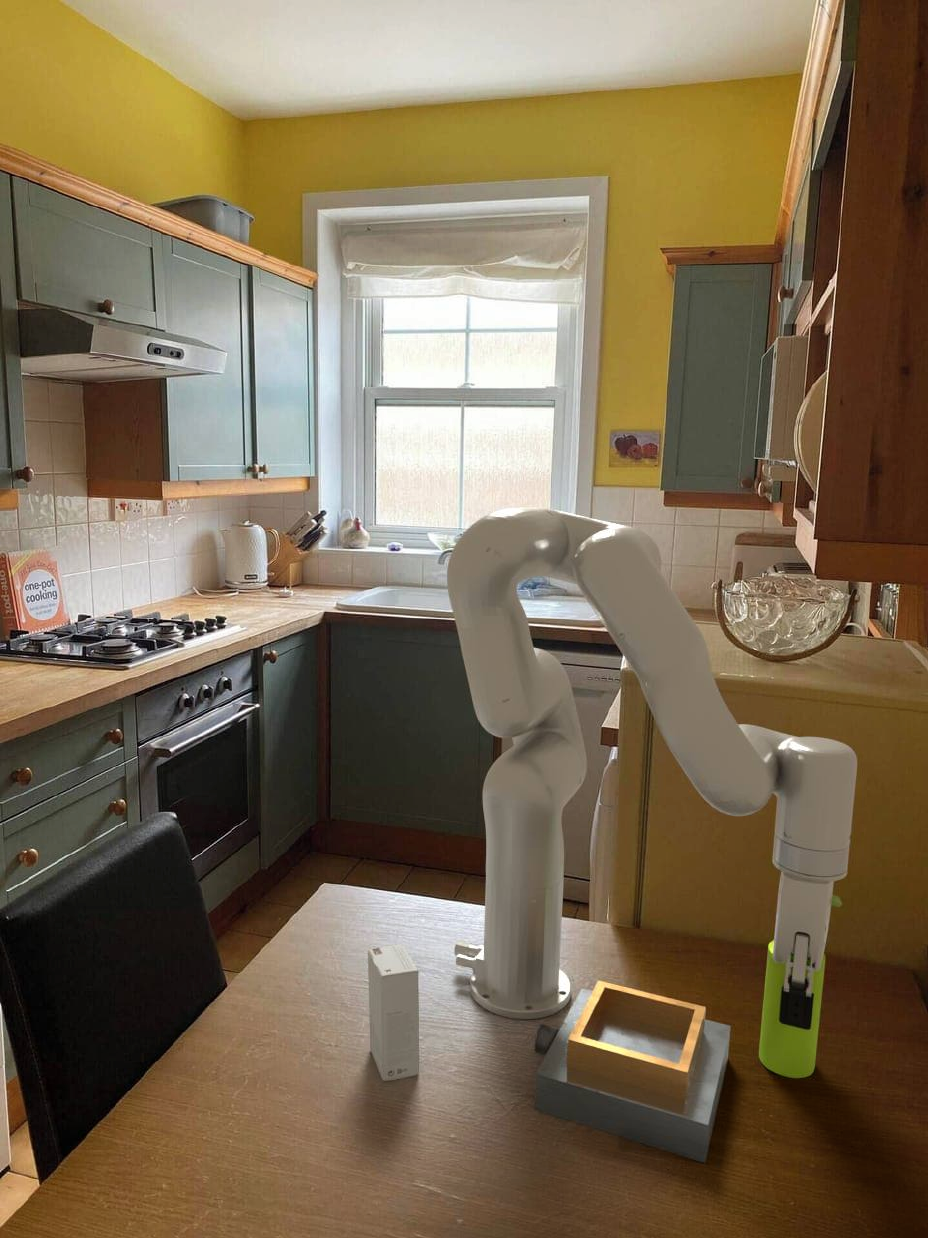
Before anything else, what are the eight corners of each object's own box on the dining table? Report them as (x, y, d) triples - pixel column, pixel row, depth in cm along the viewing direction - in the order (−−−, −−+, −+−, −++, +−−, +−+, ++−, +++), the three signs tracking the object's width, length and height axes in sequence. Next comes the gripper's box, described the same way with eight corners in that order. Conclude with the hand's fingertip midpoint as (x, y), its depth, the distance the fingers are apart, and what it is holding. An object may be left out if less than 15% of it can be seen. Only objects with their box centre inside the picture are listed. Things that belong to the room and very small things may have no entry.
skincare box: (420, 1075, 95) (423, 970, 93) (380, 1084, 94) (381, 977, 92) (404, 1041, 101) (406, 941, 99) (366, 1049, 99) (367, 948, 98)
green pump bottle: (829, 1084, 96) (847, 908, 93) (762, 1073, 97) (777, 900, 94) (819, 1050, 101) (835, 884, 98) (755, 1041, 103) (770, 877, 100)
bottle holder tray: (511, 1102, 91) (514, 1040, 90) (560, 1014, 107) (563, 960, 106) (705, 1163, 84) (710, 1096, 83) (727, 1058, 99) (732, 1001, 98)
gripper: (779, 820, 105) (767, 963, 107) (766, 878, 89) (753, 1044, 92) (848, 832, 102) (834, 978, 104) (847, 894, 86) (831, 1064, 89)
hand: (796, 1007), depth 98 cm, fingers closed on green pump bottle, 5 cm apart
